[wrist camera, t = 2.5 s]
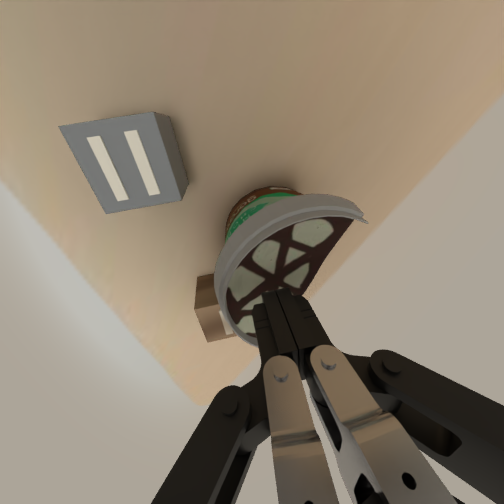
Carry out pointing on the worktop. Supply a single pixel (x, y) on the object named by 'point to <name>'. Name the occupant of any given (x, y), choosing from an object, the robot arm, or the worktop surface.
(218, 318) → the walnut block
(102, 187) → the slate block
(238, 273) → the food container
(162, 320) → the worktop surface
